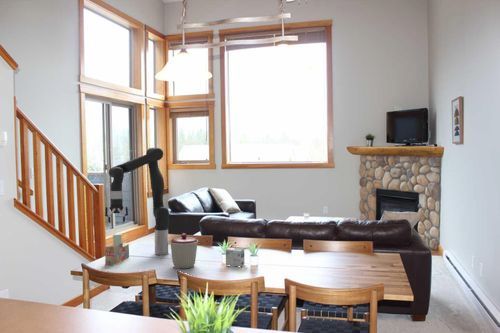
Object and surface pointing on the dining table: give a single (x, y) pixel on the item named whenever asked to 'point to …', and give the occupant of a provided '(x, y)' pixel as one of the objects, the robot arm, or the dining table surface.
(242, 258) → the light bulb box
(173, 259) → the canister
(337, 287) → the dining table surface
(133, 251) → the dining table surface
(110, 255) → the stack of blocks
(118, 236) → the sage block
